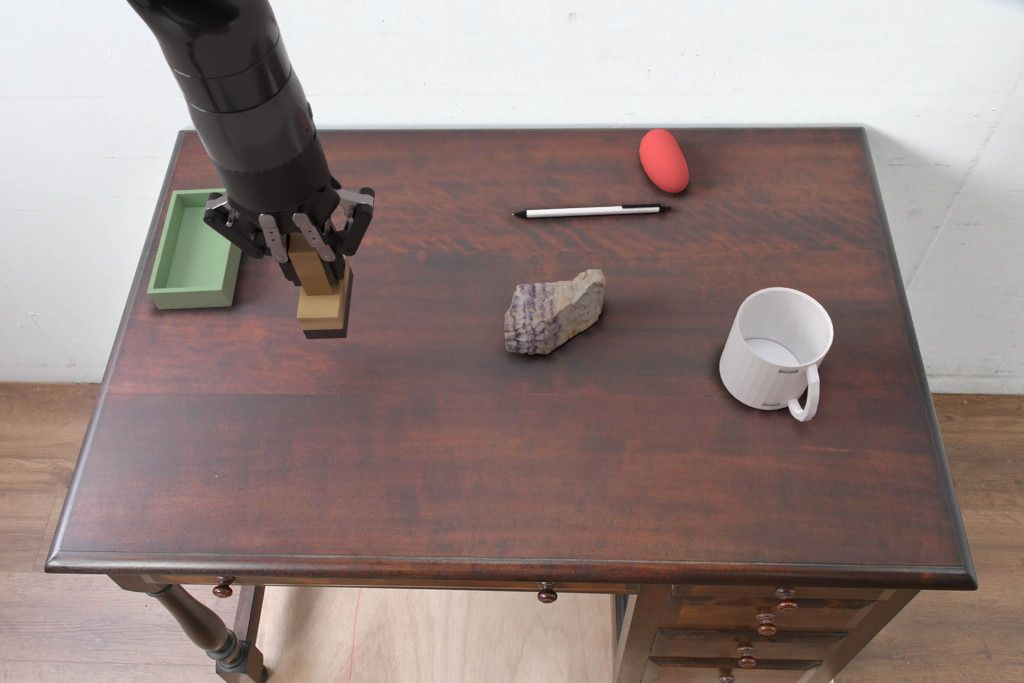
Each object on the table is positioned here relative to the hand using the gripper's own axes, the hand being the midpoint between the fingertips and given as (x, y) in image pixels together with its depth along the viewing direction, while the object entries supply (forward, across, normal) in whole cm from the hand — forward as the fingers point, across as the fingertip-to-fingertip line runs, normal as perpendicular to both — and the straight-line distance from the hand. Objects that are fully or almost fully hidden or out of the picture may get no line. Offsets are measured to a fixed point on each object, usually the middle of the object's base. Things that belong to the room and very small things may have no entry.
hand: (318, 277), depth 69 cm
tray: (+19, -20, +18) cm, 33 cm away
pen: (+19, +26, +22) cm, 39 cm away
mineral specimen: (+19, +20, +6) cm, 29 cm away
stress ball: (+19, +35, +29) cm, 49 cm away
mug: (+19, +43, -2) cm, 47 cm away
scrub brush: (+5, 0, 0) cm, 5 cm away
